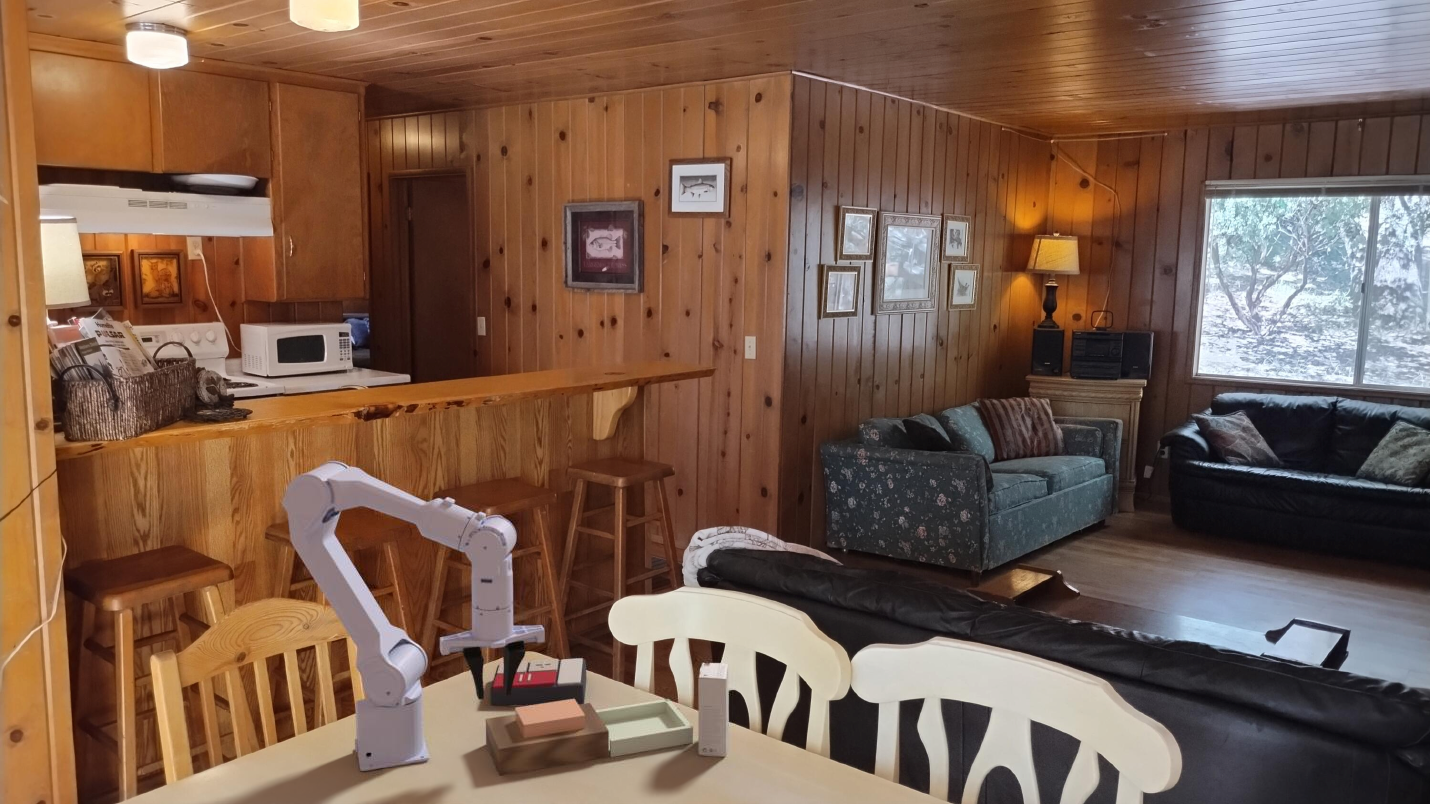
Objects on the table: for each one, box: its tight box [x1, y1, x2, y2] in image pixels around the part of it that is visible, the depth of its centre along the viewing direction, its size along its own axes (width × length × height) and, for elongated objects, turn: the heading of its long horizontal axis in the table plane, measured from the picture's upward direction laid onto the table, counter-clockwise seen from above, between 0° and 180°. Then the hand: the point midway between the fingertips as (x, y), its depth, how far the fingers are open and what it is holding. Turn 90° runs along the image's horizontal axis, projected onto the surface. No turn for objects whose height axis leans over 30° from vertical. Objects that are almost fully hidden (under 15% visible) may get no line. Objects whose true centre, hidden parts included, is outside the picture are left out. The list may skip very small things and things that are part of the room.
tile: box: [514, 699, 585, 738], centre depth 155 cm, size 9×6×2 cm, turn 113°
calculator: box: [489, 657, 588, 707], centre depth 176 cm, size 11×4×15 cm
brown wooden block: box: [485, 702, 610, 776], centre depth 155 cm, size 16×10×4 cm, turn 113°
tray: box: [594, 698, 694, 758], centre depth 161 cm, size 13×11×2 cm
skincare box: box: [697, 662, 730, 757], centre depth 157 cm, size 6×4×12 cm
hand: (493, 694), depth 151 cm, fingers open, 3 cm apart
